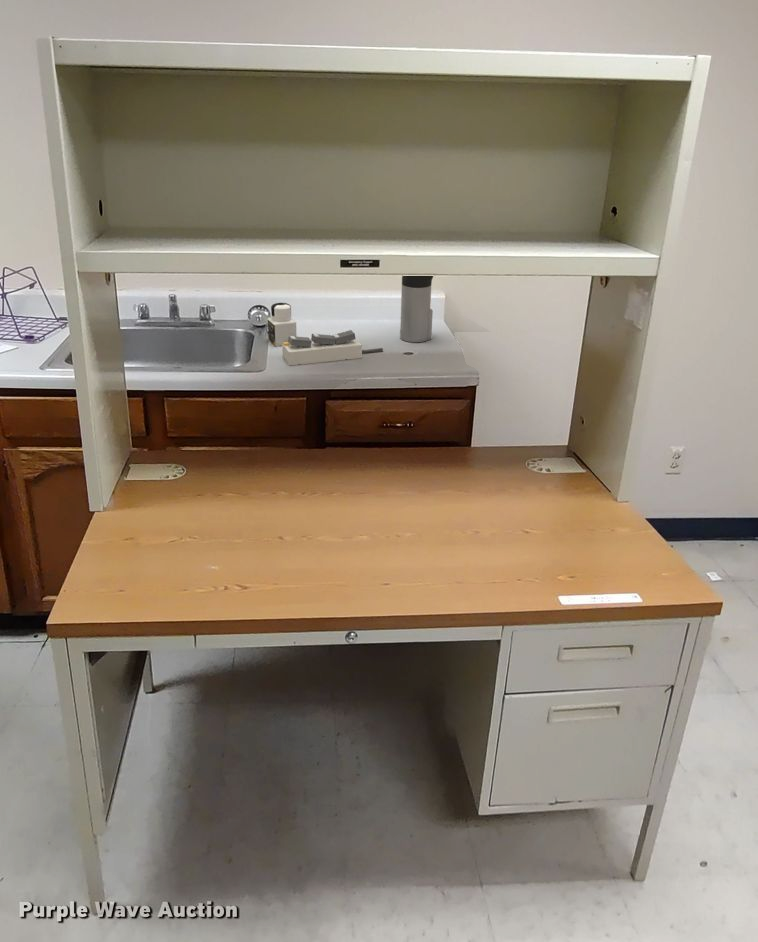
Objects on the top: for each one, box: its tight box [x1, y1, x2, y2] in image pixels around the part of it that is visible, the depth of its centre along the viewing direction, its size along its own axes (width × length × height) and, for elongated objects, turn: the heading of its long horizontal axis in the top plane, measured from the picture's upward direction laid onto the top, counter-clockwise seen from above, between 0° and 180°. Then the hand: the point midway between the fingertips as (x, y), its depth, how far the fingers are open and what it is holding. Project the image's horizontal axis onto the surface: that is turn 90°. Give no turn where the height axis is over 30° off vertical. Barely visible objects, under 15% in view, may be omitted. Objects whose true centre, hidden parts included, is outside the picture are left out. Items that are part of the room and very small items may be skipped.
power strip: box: [281, 339, 384, 366], centre depth 224 cm, size 30×8×5 cm, turn 111°
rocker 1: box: [288, 335, 312, 347], centre depth 219 cm, size 6×4×2 cm, turn 111°
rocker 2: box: [331, 329, 357, 344], centre depth 223 cm, size 6×4×2 cm, turn 110°
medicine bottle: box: [267, 302, 298, 347], centre depth 233 cm, size 7×7×12 cm
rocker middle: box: [310, 333, 335, 345], centre depth 221 cm, size 6×4×2 cm, turn 111°
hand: (320, 271), depth 212 cm, fingers open, 4 cm apart
